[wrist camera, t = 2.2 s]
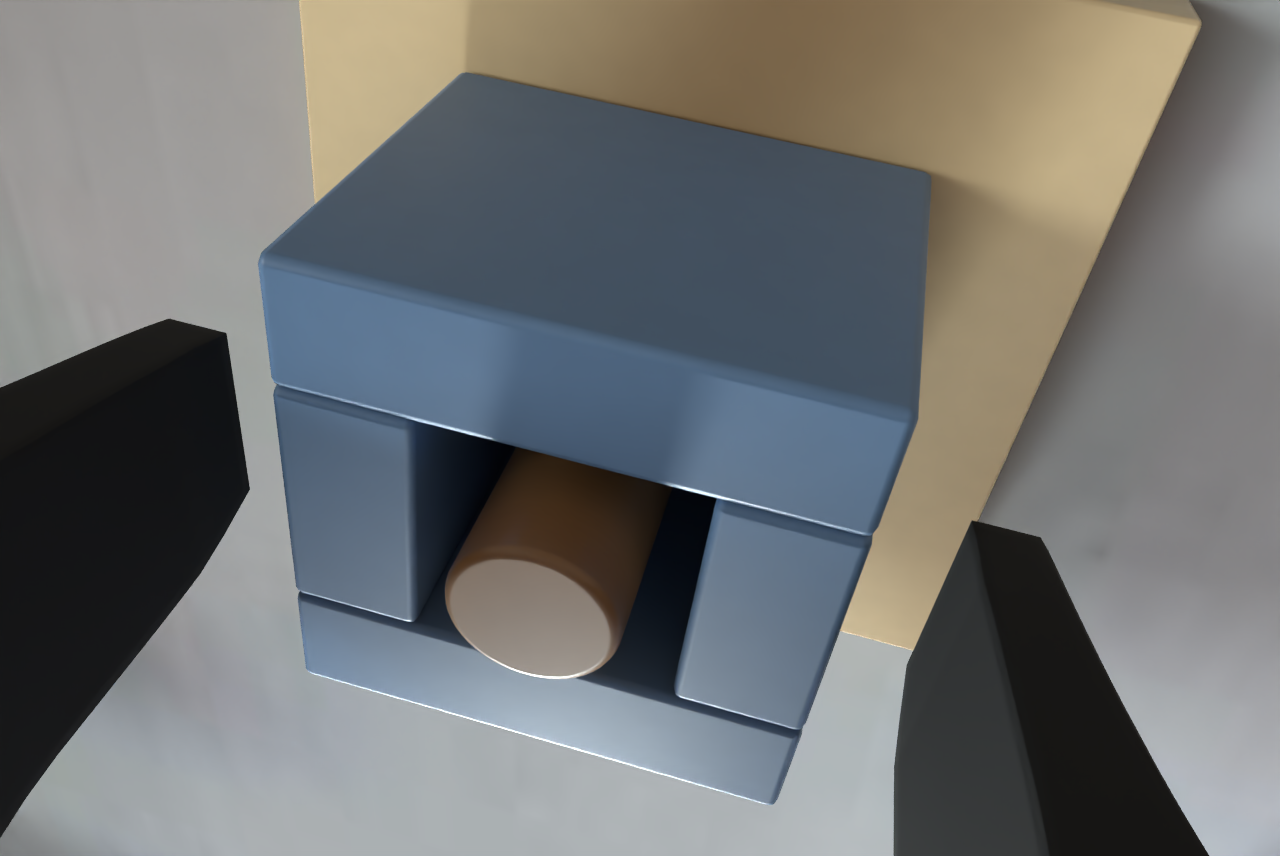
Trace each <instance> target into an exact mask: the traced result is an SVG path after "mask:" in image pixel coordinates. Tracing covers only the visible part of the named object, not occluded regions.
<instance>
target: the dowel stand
mask: <svg viewBox="0 0 1280 856" xmlns="http://www.w3.org/2000/svg"><path fill="white" fill-rule="evenodd" d="M299 5H300V17H301V30H302V43H303V56H304V69H305V82H306V95H307V108H308V121H309V134H310V147H311V159H312V172H313V185H314V198H315V204H316V203H317V202H318V201H319V200H320V199H321V198H323V197H324V196H325V195H326V194H327V193H328V192H329V191H330V190H331V189H333V188H334V187H335V186H336V185H337V184H338V183H339V182H340V181H341V180H343V179H344V178H345V177H346V176H347V175H348V174H349V173H350V172H351V171H353V170H354V169H355V168H356V167H357V166H358V165H359V164H360V163H361V162H363V161H364V160H365V159H366V158H367V157H368V156H369V155H370V154H371V153H373V152H374V151H375V150H376V149H377V148H378V147H379V146H380V145H381V144H383V143H384V142H385V141H386V140H387V139H388V138H389V137H390V136H391V135H393V134H394V133H395V132H396V131H397V130H398V129H399V128H400V127H401V126H403V125H404V124H405V123H406V122H407V121H408V120H409V119H410V118H411V117H413V116H414V115H415V114H416V113H417V112H418V111H419V110H420V109H421V108H423V107H424V106H425V105H426V104H427V103H428V102H429V101H430V100H431V99H432V98H434V97H435V96H436V95H437V94H438V93H439V92H440V91H441V90H442V89H444V88H445V87H446V86H447V85H448V84H449V83H450V82H451V81H452V80H454V79H455V78H456V77H457V76H458V75H459V74H460V73H465V72H468V73H472V74H477V75H481V76H486V77H491V78H495V79H500V80H504V81H509V82H514V83H518V84H523V85H527V86H532V87H537V88H541V89H546V90H550V91H555V92H560V93H564V94H569V95H573V96H578V97H582V98H587V99H592V100H596V101H601V102H605V103H610V104H615V105H619V106H624V107H628V108H633V109H638V110H642V111H647V112H651V113H656V114H661V115H665V116H670V117H674V118H679V119H684V120H688V121H693V122H697V123H702V124H707V125H711V126H716V127H720V128H725V129H730V130H734V131H739V132H743V133H748V134H753V135H757V136H762V137H766V138H771V139H776V140H780V141H785V142H789V143H794V144H799V145H803V146H808V147H812V148H817V149H822V150H826V151H831V152H835V153H840V154H845V155H849V156H854V157H858V158H863V159H867V160H872V161H877V162H881V163H886V164H890V165H895V166H900V167H904V168H909V169H913V170H918V171H923V172H926V173H927V174H929V175H930V176H931V182H932V184H931V202H930V220H929V237H928V255H927V273H926V291H925V309H924V326H923V344H922V362H921V380H920V398H919V415H918V422H917V424H916V427H915V430H914V432H913V435H912V438H911V440H910V443H909V446H908V449H907V451H906V454H905V457H904V459H903V462H902V465H901V467H900V470H899V473H898V475H897V478H896V481H895V484H894V486H893V489H892V492H891V494H890V497H889V500H888V502H887V505H886V508H885V510H884V513H883V516H882V519H881V521H880V524H879V527H878V528H877V529H876V530H875V532H874V533H873V539H872V546H871V548H870V551H869V554H868V556H867V559H866V562H865V565H864V567H863V570H862V573H861V575H860V578H859V581H858V583H857V586H856V589H855V591H854V594H853V597H852V600H851V602H850V605H849V608H848V610H847V613H846V616H845V618H844V621H843V624H842V626H841V629H840V631H842V632H846V633H849V634H853V635H857V636H861V637H864V638H868V639H872V640H875V641H879V642H883V643H887V644H890V645H894V646H898V647H902V648H905V649H909V650H914V648H915V646H916V643H917V641H918V639H919V637H920V635H921V632H922V630H923V628H924V626H925V623H926V621H927V619H928V617H929V614H930V612H931V610H932V608H933V605H934V603H935V601H936V599H937V597H938V594H939V592H940V590H941V588H942V585H943V583H944V581H945V579H946V576H947V574H948V572H949V570H950V567H951V565H952V563H953V561H954V559H955V556H956V554H957V552H958V550H959V547H960V545H961V543H962V541H963V538H964V536H965V534H966V532H967V529H968V527H969V525H970V523H971V521H972V520H973V521H977V522H978V520H979V518H980V516H981V513H982V511H983V509H984V507H985V504H986V502H987V500H988V498H989V496H990V493H991V491H992V489H993V487H994V485H995V482H996V480H997V478H998V476H999V473H1000V471H1001V469H1002V467H1003V465H1004V462H1005V460H1006V458H1007V456H1008V454H1009V451H1010V449H1011V447H1012V445H1013V443H1014V440H1015V438H1016V436H1017V434H1018V431H1019V429H1020V427H1021V425H1022V423H1023V420H1024V418H1025V416H1026V414H1027V412H1028V409H1029V407H1030V405H1031V403H1032V400H1033V398H1034V396H1035V394H1036V392H1037V389H1038V387H1039V385H1040V383H1041V381H1042V378H1043V376H1044V374H1045V372H1046V370H1047V367H1048V365H1049V363H1050V361H1051V358H1052V356H1053V354H1054V352H1055V350H1056V347H1057V345H1058V343H1059V341H1060V339H1061V336H1062V334H1063V332H1064V330H1065V327H1066V325H1067V323H1068V321H1069V319H1070V316H1071V314H1072V312H1073V310H1074V308H1075V305H1076V303H1077V301H1078V299H1079V297H1080V294H1081V292H1082V290H1083V288H1084V285H1085V283H1086V281H1087V279H1088V277H1089V274H1090V272H1091V270H1092V268H1093V266H1094V263H1095V261H1096V259H1097V257H1098V254H1099V252H1100V250H1101V248H1102V246H1103V243H1104V241H1105V239H1106V237H1107V235H1108V232H1109V230H1110V228H1111V226H1112V224H1113V221H1114V219H1115V217H1116V215H1117V212H1118V210H1119V208H1120V206H1121V204H1122V201H1123V199H1124V197H1125V195H1126V193H1127V190H1128V188H1129V186H1130V184H1131V181H1132V179H1133V177H1134V175H1135V173H1136V170H1137V168H1138V166H1139V164H1140V162H1141V159H1142V157H1143V155H1144V153H1145V151H1146V148H1147V146H1148V144H1149V142H1150V139H1151V137H1152V135H1153V133H1154V131H1155V128H1156V126H1157V124H1158V122H1159V120H1160V117H1161V115H1162V113H1163V111H1164V108H1165V106H1166V104H1167V102H1168V100H1169V97H1170V95H1171V93H1172V91H1173V89H1174V86H1175V84H1176V82H1177V80H1178V77H1179V75H1180V73H1181V71H1182V69H1183V66H1184V64H1185V62H1186V60H1187V58H1188V55H1189V53H1190V51H1191V49H1192V47H1193V44H1194V42H1195V40H1196V38H1197V35H1198V33H1199V31H1200V29H1201V27H1202V21H1201V20H1200V18H1199V16H1198V15H1197V13H1196V11H1195V9H1194V8H1193V6H1192V4H1191V3H1190V1H1189V0H299ZM672 488H673V487H671V486H667V485H663V484H659V483H655V482H652V481H648V480H644V479H640V478H636V477H632V476H628V475H624V474H620V473H617V472H613V471H609V470H605V469H601V468H597V467H593V466H589V465H585V464H582V463H578V462H574V461H570V460H566V459H562V458H558V457H554V456H550V455H547V454H543V453H539V452H535V451H531V450H527V449H523V448H519V447H516V448H515V450H514V452H513V454H512V456H511V457H510V459H509V461H508V463H507V465H506V467H505V469H504V470H503V472H502V474H501V476H500V478H499V480H498V481H497V483H496V485H495V487H494V489H493V491H492V493H491V494H490V496H489V498H488V500H487V502H486V504H485V506H484V507H483V509H482V511H481V513H480V515H479V517H478V518H477V520H476V522H475V524H474V526H473V528H472V530H471V531H470V533H469V535H468V537H467V539H466V541H465V542H464V544H463V546H462V548H461V550H460V552H459V554H458V555H457V557H456V559H455V561H454V563H453V565H452V567H451V568H450V570H449V572H448V575H447V578H446V583H445V601H446V606H447V610H448V613H449V615H450V618H451V620H452V621H453V623H454V625H455V627H456V628H457V629H458V631H459V632H460V633H461V635H462V636H463V637H464V638H465V639H466V640H467V641H468V642H469V643H470V644H471V645H472V646H473V647H474V648H475V649H477V650H478V651H479V652H481V653H482V654H483V655H485V656H486V657H488V658H489V659H491V660H493V661H494V662H496V663H498V664H500V665H502V666H504V667H506V668H509V669H511V670H513V671H516V672H519V673H522V674H525V675H530V676H534V677H539V678H546V679H569V678H576V677H580V676H584V675H587V674H589V673H591V672H594V671H595V670H597V669H599V668H600V667H602V666H603V665H604V664H605V663H606V662H607V661H608V660H609V659H611V658H612V656H613V655H614V654H615V653H616V651H617V649H618V647H619V645H620V643H621V640H622V637H623V634H624V631H625V628H626V625H627V622H628V619H629V616H630V613H631V610H632V607H633V604H634V601H635V598H636V595H637V592H638V589H639V586H640V583H641V580H642V577H643V574H644V571H645V568H646V565H647V562H648V559H649V556H650V553H651V550H652V547H653V544H654V541H655V538H656V535H657V532H658V529H659V526H660V523H661V520H662V517H663V514H664V511H665V508H666V505H667V503H668V500H669V497H670V494H671V491H672Z"/></svg>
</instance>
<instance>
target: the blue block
mask: <svg viewBox="0 0 1280 856" xmlns="http://www.w3.org/2000/svg"><path fill="white" fill-rule="evenodd" d="M931 184H932V182H931V176H930V175H929V174H927V173H926V172H923V171H918V170H913V169H909V168H904V167H900V166H895V165H890V164H886V163H881V162H877V161H872V160H867V159H863V158H858V157H854V156H849V155H845V154H840V153H835V152H831V151H826V150H822V149H817V148H812V147H808V146H803V145H799V144H794V143H789V142H785V141H780V140H776V139H771V138H766V137H762V136H757V135H753V134H748V133H743V132H739V131H734V130H730V129H725V128H720V127H716V126H711V125H707V124H702V123H697V122H693V121H688V120H684V119H679V118H674V117H670V116H665V115H661V114H656V113H651V112H647V111H642V110H638V109H633V108H628V107H624V106H619V105H615V104H610V103H605V102H601V101H596V100H592V99H587V98H582V97H578V96H573V95H569V94H564V93H560V92H555V91H550V90H546V89H541V88H537V87H532V86H527V85H523V84H518V83H514V82H509V81H504V80H500V79H495V78H491V77H486V76H481V75H477V74H472V73H468V72H465V73H460V74H459V75H458V76H457V77H456V78H455V79H454V80H452V81H451V82H450V83H449V84H448V85H447V86H446V87H445V88H444V89H442V90H441V91H440V92H439V93H438V94H437V95H436V96H435V97H434V98H432V99H431V100H430V101H429V102H428V103H427V104H426V105H425V106H424V107H423V108H421V109H420V110H419V111H418V112H417V113H416V114H415V115H414V116H413V117H411V118H410V119H409V120H408V121H407V122H406V123H405V124H404V125H403V126H401V127H400V128H399V129H398V130H397V131H396V132H395V133H394V134H393V135H391V136H390V137H389V138H388V139H387V140H386V141H385V142H384V143H383V144H381V145H380V146H379V147H378V148H377V149H376V150H375V151H374V152H373V153H371V154H370V155H369V156H368V157H367V158H366V159H365V160H364V161H363V162H361V163H360V164H359V165H358V166H357V167H356V168H355V169H354V170H353V171H351V172H350V173H349V174H348V175H347V176H346V177H345V178H344V179H343V180H341V181H340V182H339V183H338V184H337V185H336V186H335V187H334V188H333V189H331V190H330V191H329V192H328V193H327V194H326V195H325V196H324V197H323V198H321V199H320V200H319V201H318V202H317V203H316V204H315V205H314V206H313V207H311V208H310V209H309V210H308V211H307V212H306V213H305V214H304V215H303V216H301V217H300V218H299V219H298V220H297V221H296V222H295V223H294V224H293V225H291V226H290V227H289V228H288V229H287V230H286V231H285V232H284V233H283V234H281V235H280V236H279V237H278V238H277V239H276V240H275V241H274V242H273V243H271V244H270V245H269V246H268V247H267V248H266V249H265V250H264V251H263V252H262V253H261V256H260V259H259V263H258V266H259V275H260V283H261V291H262V300H263V308H264V316H265V325H266V333H267V342H268V350H269V358H270V367H271V375H272V379H273V380H274V382H275V383H276V384H277V385H276V387H275V390H274V395H273V396H274V404H275V412H276V421H277V429H278V437H279V446H280V454H281V463H282V471H283V479H284V488H285V496H286V504H287V513H288V521H289V529H290V538H291V546H292V554H293V563H294V571H295V579H296V587H297V588H298V590H300V592H299V594H298V604H299V612H300V621H301V629H302V637H303V646H304V654H305V662H306V669H307V670H308V671H309V672H311V673H312V674H315V675H319V676H322V677H326V678H329V679H333V680H336V681H339V682H343V683H346V684H350V685H353V686H357V687H360V688H364V689H367V690H371V691H374V692H378V693H381V694H385V695H388V696H392V697H395V698H398V699H402V700H405V701H409V702H412V703H416V704H419V705H423V706H426V707H430V708H433V709H437V710H440V711H444V712H447V713H450V714H454V715H457V716H461V717H464V718H468V719H471V720H475V721H478V722H482V723H485V724H489V725H492V726H496V727H499V728H503V729H506V730H509V731H513V732H516V733H520V734H523V735H527V736H530V737H534V738H537V739H541V740H544V741H548V742H551V743H555V744H558V745H561V746H565V747H568V748H572V749H575V750H579V751H582V752H586V753H589V754H593V755H596V756H600V757H603V758H607V759H610V760H614V761H617V762H620V763H624V764H627V765H631V766H634V767H638V768H641V769H645V770H648V771H652V772H655V773H659V774H662V775H666V776H669V777H672V778H676V779H679V780H683V781H686V782H690V783H693V784H697V785H700V786H704V787H707V788H711V789H714V790H718V791H721V792H725V793H728V794H731V795H735V796H738V797H742V798H745V799H749V800H752V801H756V802H759V803H763V804H766V805H772V804H774V803H775V802H776V800H777V799H778V796H779V794H780V791H781V788H782V786H783V783H784V780H785V778H786V775H787V772H788V769H789V767H790V764H791V761H792V759H793V756H794V753H795V751H796V748H797V745H798V743H799V740H800V737H801V734H802V728H803V726H804V724H805V723H806V721H807V718H808V715H809V713H810V710H811V707H812V705H813V702H814V699H815V696H816V694H817V691H818V688H819V686H820V683H821V680H822V678H823V675H824V672H825V670H826V667H827V664H828V661H829V659H830V656H831V653H832V651H833V648H834V645H835V643H836V640H837V637H838V635H839V632H840V629H841V626H842V624H843V621H844V618H845V616H846V613H847V610H848V608H849V605H850V602H851V600H852V597H853V594H854V591H855V589H856V586H857V583H858V581H859V578H860V575H861V573H862V570H863V567H864V565H865V562H866V559H867V556H868V554H869V551H870V548H871V546H872V539H873V533H874V532H875V530H876V529H877V528H878V527H879V524H880V521H881V519H882V516H883V513H884V510H885V508H886V505H887V502H888V500H889V497H890V494H891V492H892V489H893V486H894V484H895V481H896V478H897V475H898V473H899V470H900V467H901V465H902V462H903V459H904V457H905V454H906V451H907V449H908V446H909V443H910V440H911V438H912V435H913V432H914V430H915V427H916V424H917V422H918V415H919V398H920V380H921V362H922V344H923V326H924V309H925V291H926V273H927V255H928V237H929V220H930V202H931ZM516 447H519V448H523V449H527V450H531V451H535V452H539V453H543V454H547V455H550V456H554V457H558V458H562V459H566V460H570V461H574V462H578V463H582V464H585V465H589V466H593V467H597V468H601V469H605V470H609V471H613V472H617V473H620V474H624V475H628V476H632V477H636V478H640V479H644V480H648V481H652V482H655V483H659V484H663V485H667V486H671V487H673V488H672V491H671V494H670V497H669V500H668V503H667V505H666V508H665V511H664V514H663V517H662V520H661V523H660V526H659V529H658V532H657V535H656V538H655V541H654V544H653V547H652V550H651V553H650V556H649V559H648V562H647V565H646V568H645V571H644V574H643V577H642V580H641V583H640V586H639V589H638V592H637V595H636V598H635V601H634V604H633V607H632V610H631V613H630V616H629V619H628V622H627V625H626V628H625V631H624V634H623V637H622V640H621V643H620V645H619V647H618V649H617V651H616V653H615V654H614V655H613V656H612V658H611V659H609V660H608V661H607V662H606V663H605V664H604V665H603V666H602V667H600V668H599V669H597V670H595V671H594V672H591V673H589V674H587V675H584V676H580V677H576V678H569V679H546V678H539V677H534V676H530V675H525V674H522V673H519V672H516V671H513V670H511V669H509V668H506V667H504V666H502V665H500V664H498V663H496V662H494V661H493V660H491V659H489V658H488V657H486V656H485V655H483V654H482V653H481V652H479V651H478V650H477V649H475V648H474V647H473V646H472V645H471V644H470V643H469V642H468V641H467V640H466V639H465V638H464V637H463V636H462V635H461V633H460V632H459V631H458V629H457V628H456V627H455V625H454V623H453V621H452V620H451V618H450V615H449V613H448V610H447V606H446V601H445V583H446V578H447V575H448V572H449V570H450V568H451V567H452V565H453V563H454V561H455V559H456V557H457V555H458V554H459V552H460V550H461V548H462V546H463V544H464V542H465V541H466V539H467V537H468V535H469V533H470V531H471V530H472V528H473V526H474V524H475V522H476V520H477V518H478V517H479V515H480V513H481V511H482V509H483V507H484V506H485V504H486V502H487V500H488V498H489V496H490V494H491V493H492V491H493V489H494V487H495V485H496V483H497V481H498V480H499V478H500V476H501V474H502V472H503V470H504V469H505V467H506V465H507V463H508V461H509V459H510V457H511V456H512V454H513V452H514V450H515V448H516Z"/></svg>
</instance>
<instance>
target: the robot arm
mask: <svg viewBox="0 0 1280 856" xmlns="http://www.w3.org/2000/svg"><path fill="white" fill-rule="evenodd" d="M249 490H250V487H249V481H248V474H247V467H246V461H245V454H244V447H243V441H242V434H241V427H240V421H239V414H238V408H237V401H236V394H235V388H234V381H233V374H232V368H231V361H230V354H229V348H228V341H227V334H226V333H224V332H220V331H216V330H212V329H208V328H204V327H200V326H196V325H192V324H188V323H184V322H180V321H176V320H172V319H166V320H164V321H161V322H158V323H155V324H152V325H150V326H147V327H144V328H141V329H139V330H136V331H134V332H131V333H129V334H126V335H124V336H121V337H119V338H116V339H114V340H111V341H109V342H107V343H104V344H102V345H99V346H97V347H95V348H92V349H90V350H88V351H85V352H83V353H81V354H78V355H76V356H74V357H71V358H69V359H67V360H64V361H62V362H60V363H57V364H55V365H53V366H50V367H48V368H46V369H43V370H41V371H39V372H36V373H34V374H32V375H29V376H27V377H25V378H22V379H20V380H18V381H15V382H13V383H11V384H8V385H6V386H4V387H1V388H0V837H1V836H2V834H3V833H4V831H5V830H6V828H7V827H8V825H9V823H10V822H11V820H12V819H13V817H14V816H15V814H16V813H17V811H18V809H19V808H20V806H21V805H22V803H23V802H24V800H25V799H26V797H27V796H28V794H29V793H30V792H31V790H32V789H33V788H34V786H35V785H36V784H37V782H38V781H39V779H40V778H41V777H42V775H43V774H44V773H45V771H46V770H47V768H48V767H49V766H50V764H51V763H52V762H53V760H54V759H55V758H56V756H57V755H58V754H59V752H60V751H61V750H62V749H63V747H64V746H65V745H66V744H67V742H68V741H69V740H70V738H71V737H72V736H73V735H74V733H75V732H76V731H77V730H78V728H79V727H80V726H81V725H82V723H83V722H84V721H85V720H86V718H87V717H88V716H89V715H90V713H91V712H92V711H93V710H94V708H95V707H96V706H97V705H98V703H99V702H100V701H101V700H102V698H103V697H104V696H105V695H106V693H107V692H108V691H109V689H110V688H111V687H112V686H113V684H114V683H115V682H116V681H117V679H118V678H119V677H120V676H121V674H122V673H123V672H124V671H125V669H126V668H127V667H128V666H129V664H130V663H131V662H132V661H133V659H134V658H135V657H136V656H137V654H138V653H139V652H140V651H141V649H142V648H143V647H144V646H145V644H146V643H147V642H148V641H149V639H150V638H151V637H152V635H153V634H154V633H155V632H156V630H157V629H158V628H159V627H160V625H161V624H162V623H163V621H164V620H165V619H166V618H167V616H168V615H169V614H170V612H171V611H172V610H173V609H174V607H175V606H176V605H177V603H178V602H179V601H180V600H181V598H182V597H183V596H184V594H185V593H186V592H187V591H188V589H189V588H190V587H191V585H192V584H193V583H194V581H195V580H196V579H197V577H198V576H199V575H200V573H201V572H202V570H203V569H204V567H205V565H206V564H207V562H208V560H209V559H210V557H211V556H212V554H213V552H214V551H215V549H216V547H217V546H218V544H219V542H220V541H221V539H222V538H223V536H224V534H225V532H226V531H227V529H228V527H229V525H230V524H231V522H232V520H233V518H234V516H235V515H236V513H237V511H238V509H239V508H240V506H241V504H242V502H243V500H244V499H245V497H246V495H247V493H248V492H249ZM894 856H1209V855H1208V853H1207V851H1206V850H1205V848H1204V846H1203V845H1202V843H1201V841H1200V840H1199V838H1198V837H1197V835H1196V833H1195V832H1194V830H1193V828H1192V827H1191V825H1190V823H1189V822H1188V820H1187V818H1186V817H1185V815H1184V813H1183V812H1182V810H1181V808H1180V807H1179V805H1178V803H1177V801H1176V800H1175V798H1174V796H1173V794H1172V793H1171V791H1170V789H1169V787H1168V786H1167V784H1166V782H1165V780H1164V779H1163V777H1162V775H1161V773H1160V772H1159V770H1158V768H1157V766H1156V764H1155V762H1154V761H1153V759H1152V757H1151V755H1150V753H1149V751H1148V749H1147V748H1146V746H1145V744H1144V742H1143V740H1142V738H1141V737H1140V735H1139V733H1138V731H1137V729H1136V727H1135V725H1134V724H1133V722H1132V720H1131V718H1130V716H1129V714H1128V712H1127V711H1126V709H1125V707H1124V705H1123V703H1122V701H1121V699H1120V697H1119V695H1118V694H1117V692H1116V690H1115V688H1114V686H1113V684H1112V682H1111V680H1110V678H1109V676H1108V674H1107V672H1106V670H1105V668H1104V666H1103V664H1102V662H1101V660H1100V658H1099V656H1098V654H1097V652H1096V650H1095V648H1094V646H1093V644H1092V642H1091V640H1090V638H1089V636H1088V634H1087V632H1086V630H1085V627H1084V625H1083V623H1082V621H1081V619H1080V617H1079V615H1078V613H1077V611H1076V609H1075V607H1074V604H1073V602H1072V600H1071V598H1070V596H1069V594H1068V592H1067V590H1066V587H1065V585H1064V583H1063V581H1062V579H1061V577H1060V575H1059V573H1058V570H1057V568H1056V566H1055V564H1054V562H1053V560H1052V558H1051V556H1050V553H1049V551H1048V549H1047V548H1046V546H1045V544H1044V543H1043V541H1042V539H1041V537H1037V536H1033V535H1029V534H1025V533H1021V532H1017V531H1013V530H1009V529H1005V528H1001V527H997V526H993V525H989V524H985V523H981V522H977V521H973V520H972V521H971V523H970V525H969V527H968V529H967V532H966V534H965V536H964V538H963V541H962V543H961V545H960V547H959V550H958V552H957V554H956V556H955V559H954V561H953V563H952V565H951V567H950V570H949V572H948V574H947V576H946V579H945V581H944V583H943V585H942V588H941V590H940V592H939V594H938V597H937V599H936V601H935V603H934V605H933V608H932V610H931V612H930V614H929V617H928V619H927V621H926V623H925V626H924V628H923V630H922V632H921V635H920V637H919V639H918V641H917V643H916V646H915V648H914V650H913V652H912V655H911V657H910V659H909V661H908V664H907V668H906V675H905V683H904V690H903V698H902V706H901V713H900V721H899V730H898V739H897V747H896V756H895V765H894Z"/></svg>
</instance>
